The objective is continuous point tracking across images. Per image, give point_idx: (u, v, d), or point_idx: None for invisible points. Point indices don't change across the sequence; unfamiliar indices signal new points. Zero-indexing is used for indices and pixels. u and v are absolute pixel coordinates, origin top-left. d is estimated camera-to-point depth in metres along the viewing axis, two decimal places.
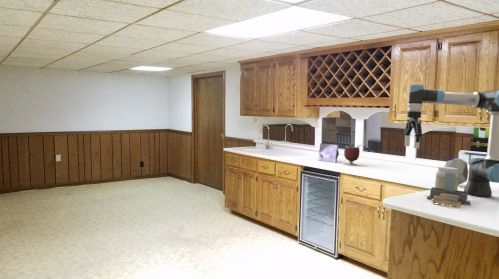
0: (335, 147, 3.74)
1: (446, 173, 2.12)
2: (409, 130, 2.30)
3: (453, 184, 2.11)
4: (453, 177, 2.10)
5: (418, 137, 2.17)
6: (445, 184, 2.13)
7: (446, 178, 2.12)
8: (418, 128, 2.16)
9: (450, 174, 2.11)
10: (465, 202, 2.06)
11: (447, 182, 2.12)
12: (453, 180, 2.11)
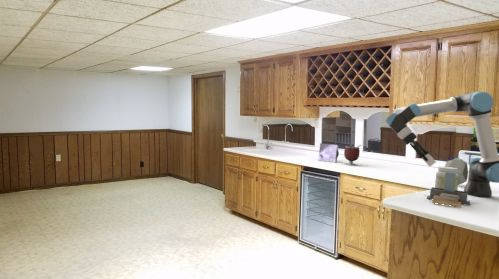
0: (335, 147, 3.74)
1: (446, 173, 2.12)
2: (421, 150, 2.24)
3: (453, 184, 2.11)
4: (453, 177, 2.10)
5: (423, 156, 2.11)
6: (445, 184, 2.13)
7: (446, 178, 2.12)
8: (416, 150, 2.13)
9: (450, 174, 2.11)
10: (465, 202, 2.06)
11: (447, 182, 2.12)
12: (453, 180, 2.11)
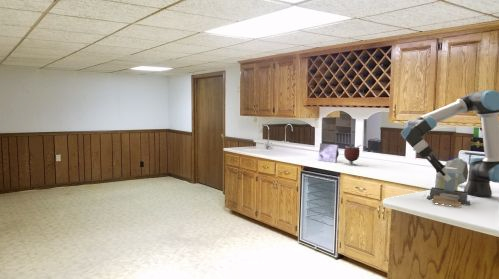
0: (335, 147, 3.74)
1: None
2: (438, 164, 2.20)
3: (453, 184, 2.11)
4: (453, 177, 2.10)
5: (440, 171, 2.07)
6: (445, 184, 2.13)
7: None
8: (433, 164, 2.09)
9: (450, 174, 2.11)
10: (465, 202, 2.06)
11: (447, 182, 2.12)
12: (453, 180, 2.11)
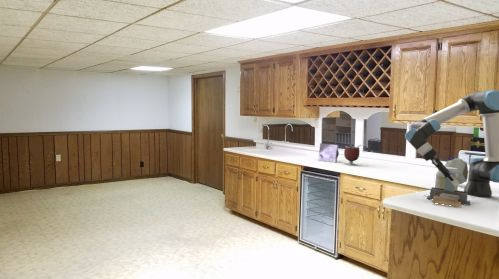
0: (335, 147, 3.74)
1: None
2: None
3: None
4: None
5: (449, 176, 2.10)
6: (445, 184, 2.13)
7: (446, 178, 2.12)
8: (441, 170, 2.10)
9: (450, 174, 2.11)
10: (465, 202, 2.06)
11: (447, 182, 2.12)
12: None
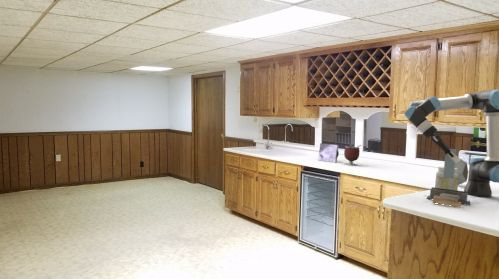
0: (335, 147, 3.74)
1: None
2: None
3: None
4: None
5: (449, 153, 2.09)
6: (445, 161, 2.12)
7: (446, 155, 2.11)
8: (441, 146, 2.09)
9: None
10: (465, 202, 2.06)
11: (448, 158, 2.11)
12: None
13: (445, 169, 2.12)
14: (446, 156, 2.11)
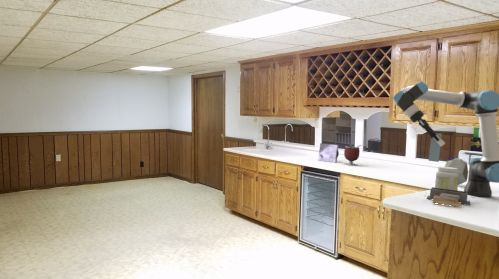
0: (335, 147, 3.74)
1: None
2: None
3: None
4: (439, 137, 2.15)
5: (434, 136, 2.15)
6: (431, 144, 2.17)
7: (432, 138, 2.17)
8: (427, 130, 2.15)
9: (436, 134, 2.16)
10: (465, 202, 2.06)
11: (433, 142, 2.17)
12: None
13: (430, 152, 2.18)
14: (432, 140, 2.17)
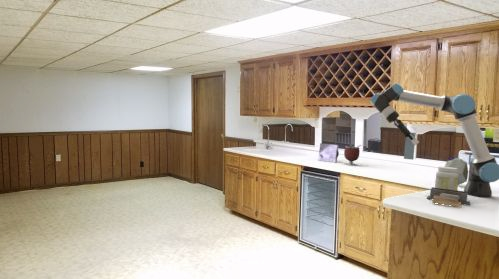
0: (335, 147, 3.74)
1: None
2: None
3: None
4: (413, 136, 2.28)
5: (409, 135, 2.28)
6: (406, 143, 2.30)
7: (406, 137, 2.30)
8: (401, 130, 2.28)
9: None
10: (465, 202, 2.06)
11: (408, 141, 2.30)
12: None
13: (405, 151, 2.31)
14: (406, 139, 2.30)
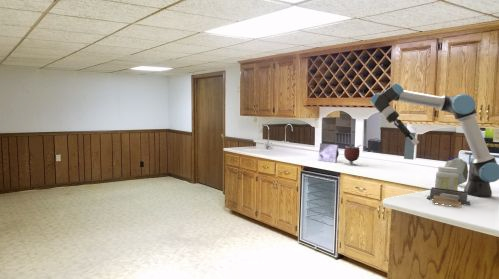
0: (335, 147, 3.74)
1: None
2: None
3: None
4: (413, 136, 2.28)
5: (409, 135, 2.28)
6: (406, 143, 2.30)
7: (406, 137, 2.30)
8: (401, 130, 2.28)
9: None
10: (465, 202, 2.06)
11: (408, 141, 2.30)
12: None
13: (405, 151, 2.31)
14: (406, 139, 2.30)
